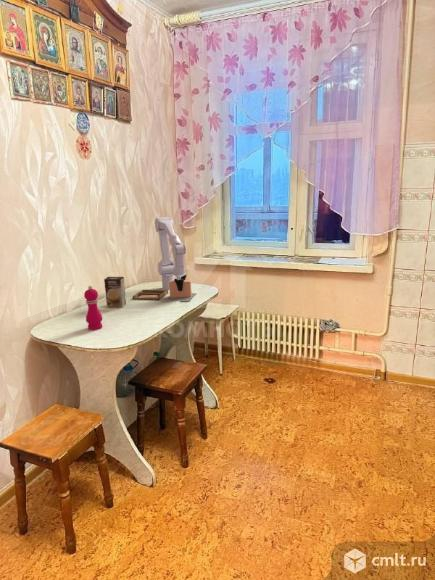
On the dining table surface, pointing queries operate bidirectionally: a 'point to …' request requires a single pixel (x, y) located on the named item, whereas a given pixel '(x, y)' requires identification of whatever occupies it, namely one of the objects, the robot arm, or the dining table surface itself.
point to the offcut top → (148, 296)
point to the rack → (151, 292)
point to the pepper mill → (92, 309)
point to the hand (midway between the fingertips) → (181, 289)
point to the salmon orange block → (184, 293)
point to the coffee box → (115, 292)
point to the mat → (181, 298)
